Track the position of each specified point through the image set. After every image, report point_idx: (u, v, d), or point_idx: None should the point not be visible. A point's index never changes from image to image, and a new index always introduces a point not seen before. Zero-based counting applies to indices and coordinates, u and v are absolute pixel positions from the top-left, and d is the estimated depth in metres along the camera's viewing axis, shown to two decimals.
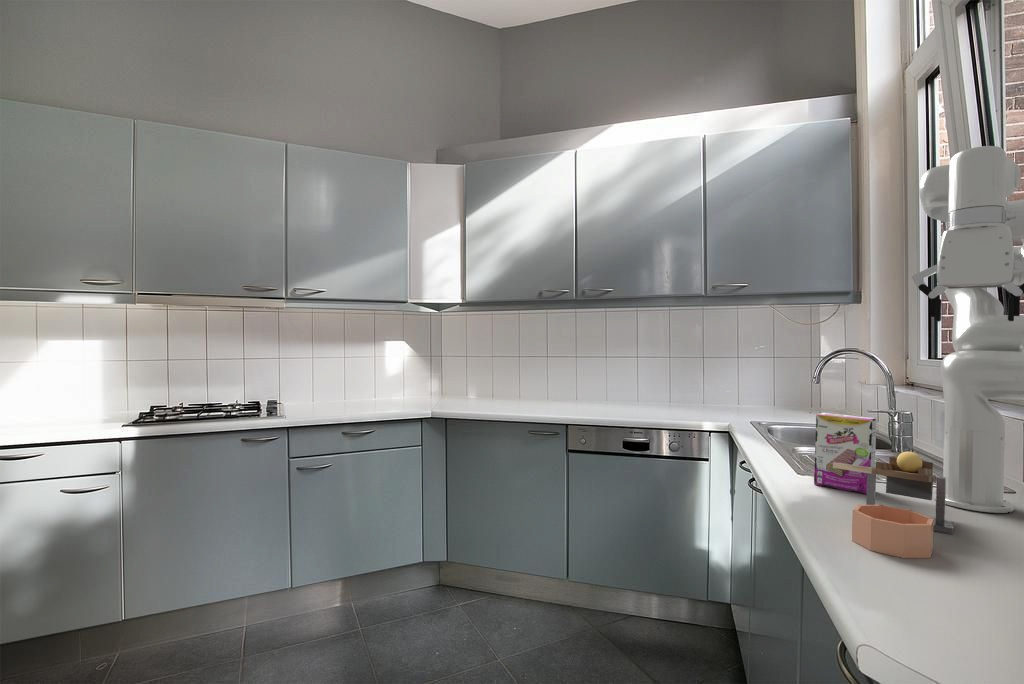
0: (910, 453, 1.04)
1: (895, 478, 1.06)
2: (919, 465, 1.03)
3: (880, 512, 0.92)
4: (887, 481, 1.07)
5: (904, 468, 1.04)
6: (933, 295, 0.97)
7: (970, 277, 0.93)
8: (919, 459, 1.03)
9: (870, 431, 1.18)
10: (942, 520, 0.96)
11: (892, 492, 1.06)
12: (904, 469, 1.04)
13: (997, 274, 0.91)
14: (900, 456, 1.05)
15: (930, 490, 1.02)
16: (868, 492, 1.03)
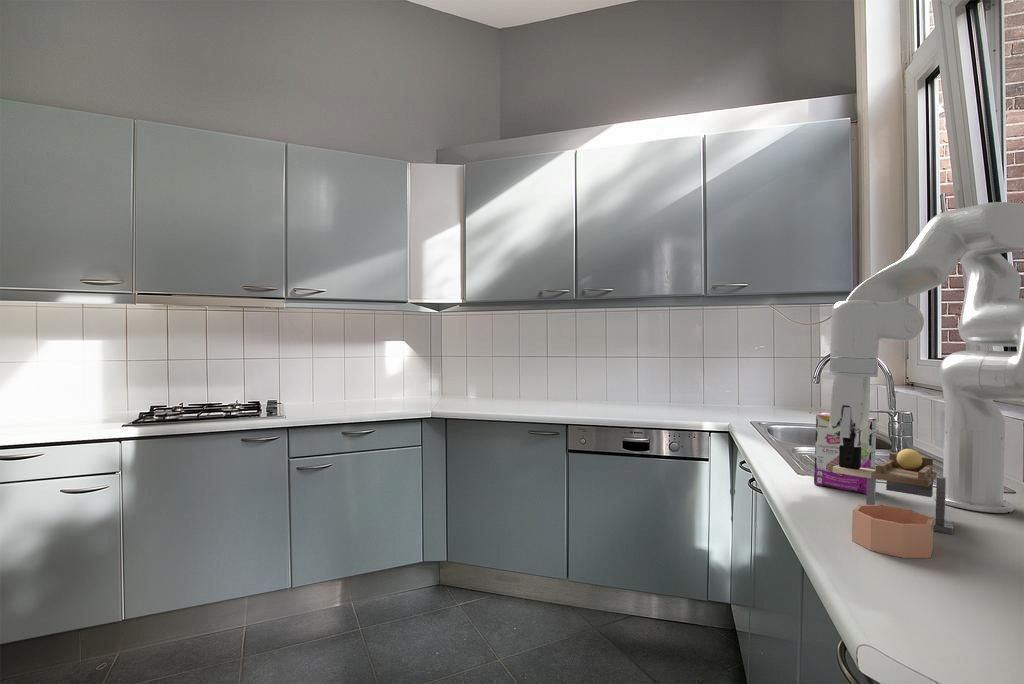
0: (910, 451, 1.04)
1: None
2: (919, 463, 1.03)
3: (880, 512, 0.92)
4: None
5: (904, 466, 1.04)
6: None
7: (865, 422, 0.98)
8: (919, 457, 1.03)
9: (870, 431, 1.18)
10: (942, 520, 0.96)
11: (892, 489, 1.06)
12: (904, 467, 1.04)
13: (868, 419, 1.01)
14: (900, 454, 1.05)
15: (930, 487, 1.02)
16: (868, 492, 1.03)
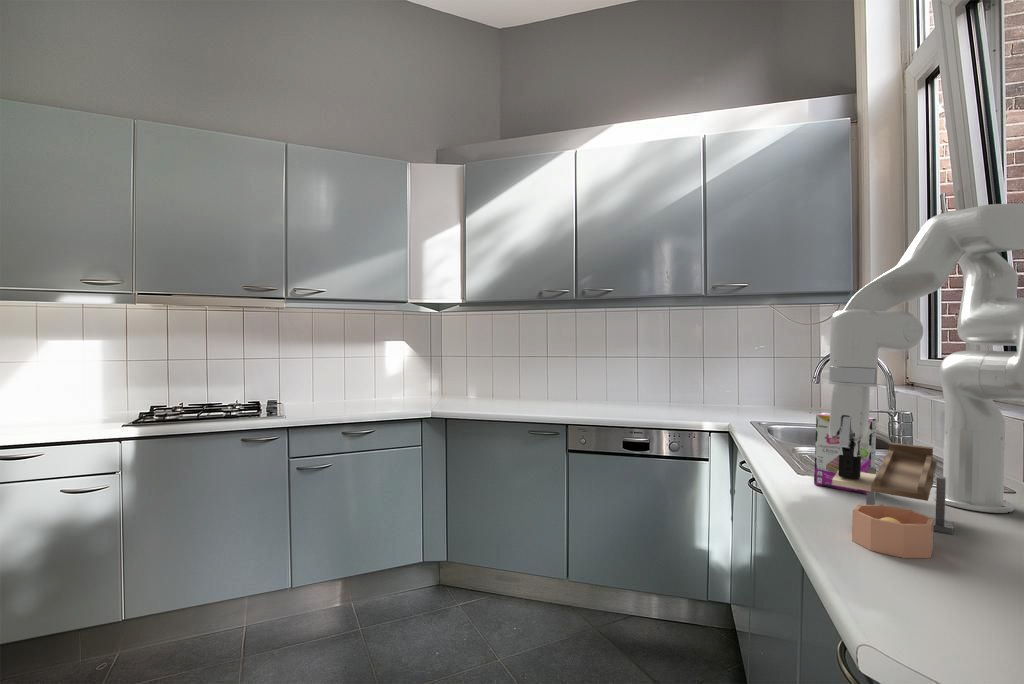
0: None
1: None
2: None
3: (880, 512, 0.92)
4: None
5: None
6: (856, 453, 0.98)
7: (864, 432, 0.98)
8: None
9: (870, 431, 1.18)
10: (942, 520, 0.96)
11: None
12: None
13: (867, 428, 1.01)
14: None
15: None
16: (868, 492, 1.03)
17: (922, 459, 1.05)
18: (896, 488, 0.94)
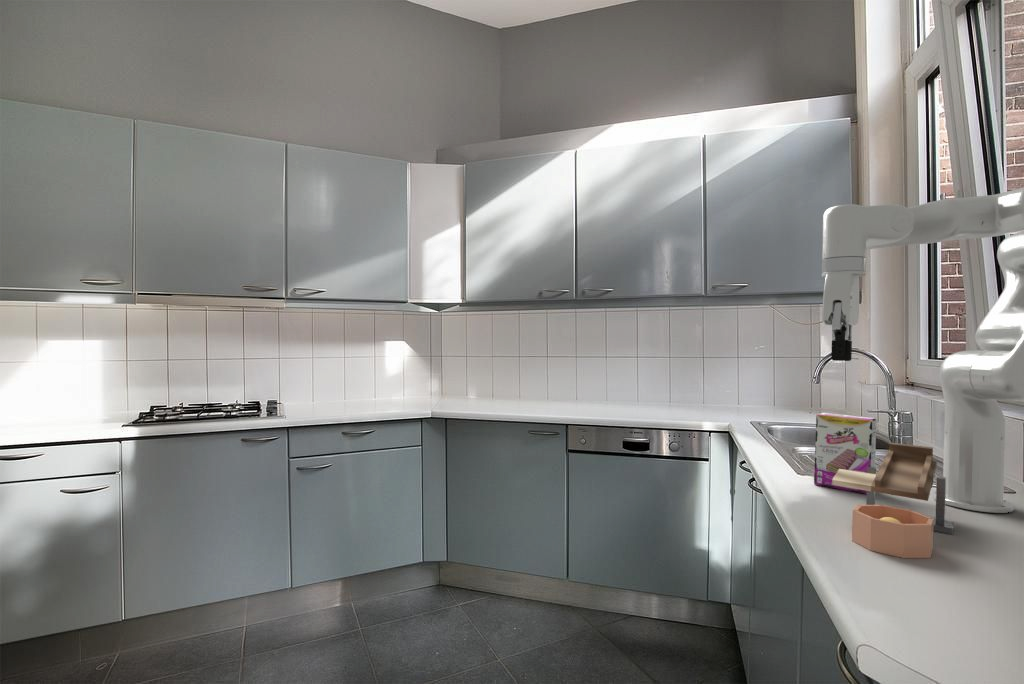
0: None
1: None
2: None
3: (880, 512, 0.92)
4: None
5: None
6: (848, 337, 1.07)
7: (854, 317, 1.07)
8: None
9: (870, 431, 1.18)
10: (942, 520, 0.96)
11: None
12: None
13: (857, 316, 1.10)
14: None
15: None
16: (868, 492, 1.03)
17: (922, 459, 1.05)
18: (896, 488, 0.94)
